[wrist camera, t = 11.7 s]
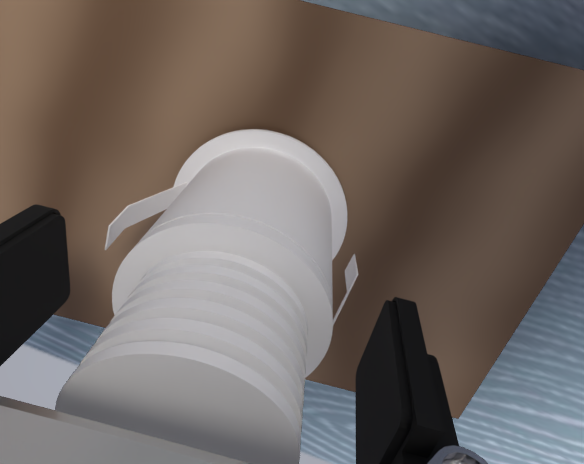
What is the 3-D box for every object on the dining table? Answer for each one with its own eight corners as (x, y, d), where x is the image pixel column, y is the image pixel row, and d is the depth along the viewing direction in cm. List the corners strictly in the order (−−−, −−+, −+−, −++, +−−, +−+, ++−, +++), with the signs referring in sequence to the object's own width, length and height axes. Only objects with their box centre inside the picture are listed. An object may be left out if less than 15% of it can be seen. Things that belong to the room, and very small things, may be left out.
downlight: (149, 247, 17) (-34, 480, 9) (185, 92, 14) (-50, 212, 5) (317, 308, 18) (306, 577, 9) (389, 173, 15) (472, 394, 6)
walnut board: (638, 84, 14) (669, 91, 12) (451, 394, 21) (458, 418, 20) (-33, -81, 14) (-73, -92, 13) (18, 283, 22) (-3, 299, 20)
